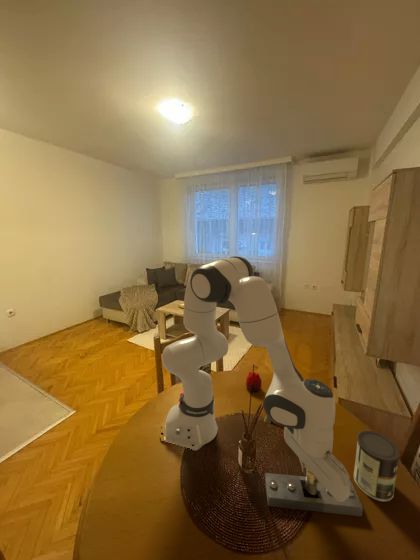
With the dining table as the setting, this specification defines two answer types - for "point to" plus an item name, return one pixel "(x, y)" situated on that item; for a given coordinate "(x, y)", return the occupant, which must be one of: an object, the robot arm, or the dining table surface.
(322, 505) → the grey peg board
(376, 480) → the coffee can
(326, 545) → the dining table surface
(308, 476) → the pin
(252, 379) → the red rounded piece
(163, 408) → the dining table surface
